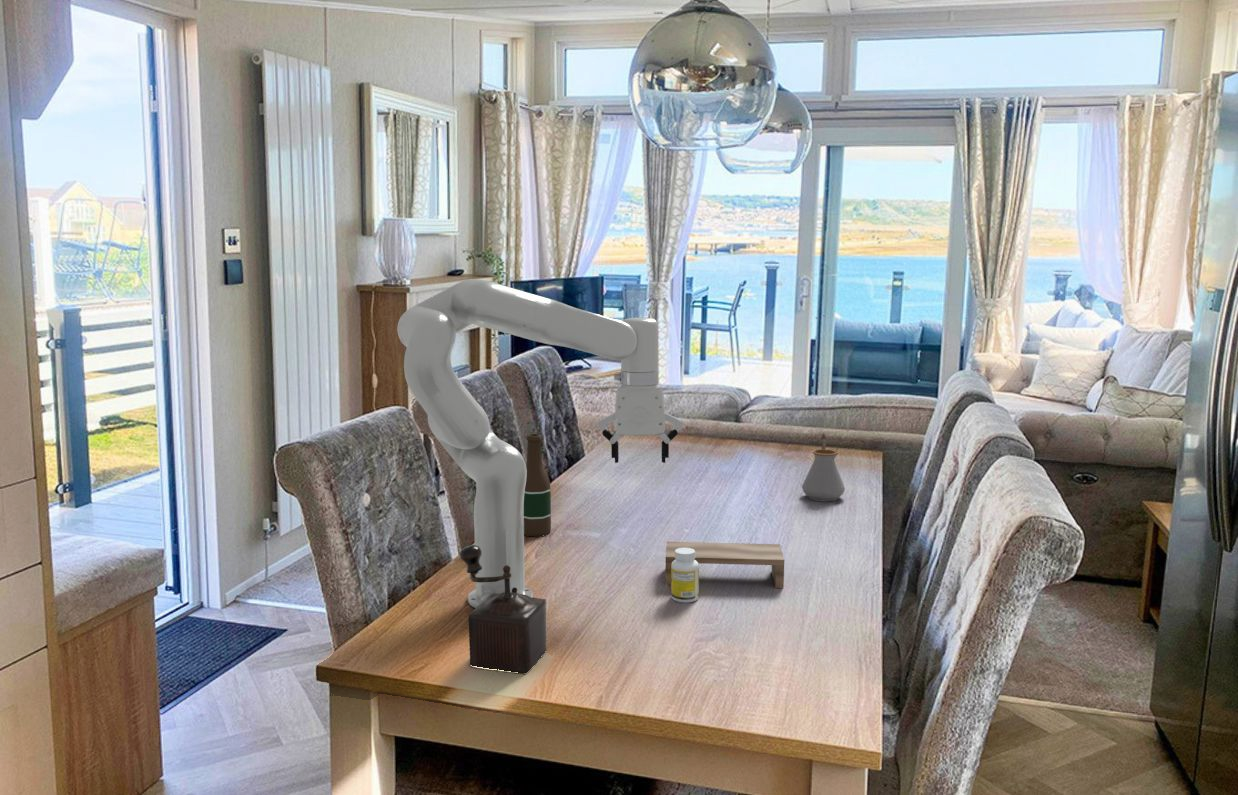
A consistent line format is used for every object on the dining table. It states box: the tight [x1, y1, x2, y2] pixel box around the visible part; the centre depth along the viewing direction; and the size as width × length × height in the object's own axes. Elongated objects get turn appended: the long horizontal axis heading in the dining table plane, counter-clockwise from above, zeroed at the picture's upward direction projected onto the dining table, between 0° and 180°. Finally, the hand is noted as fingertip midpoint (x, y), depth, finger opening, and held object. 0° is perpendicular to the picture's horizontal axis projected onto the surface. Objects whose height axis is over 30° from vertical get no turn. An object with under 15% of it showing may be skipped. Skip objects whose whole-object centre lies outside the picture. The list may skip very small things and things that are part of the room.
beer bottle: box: [524, 433, 552, 537], centre depth 232 cm, size 8×8×24 cm
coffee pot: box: [801, 432, 846, 502], centre depth 269 cm, size 21×12×15 cm, turn 169°
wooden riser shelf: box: [664, 541, 785, 589], centre depth 203 cm, size 10×24×6 cm, turn 86°
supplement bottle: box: [670, 548, 700, 604], centre depth 192 cm, size 5×5×10 cm
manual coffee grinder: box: [459, 544, 547, 674], centre depth 165 cm, size 16×11×18 cm
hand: (640, 461), depth 200 cm, fingers open, 9 cm apart
